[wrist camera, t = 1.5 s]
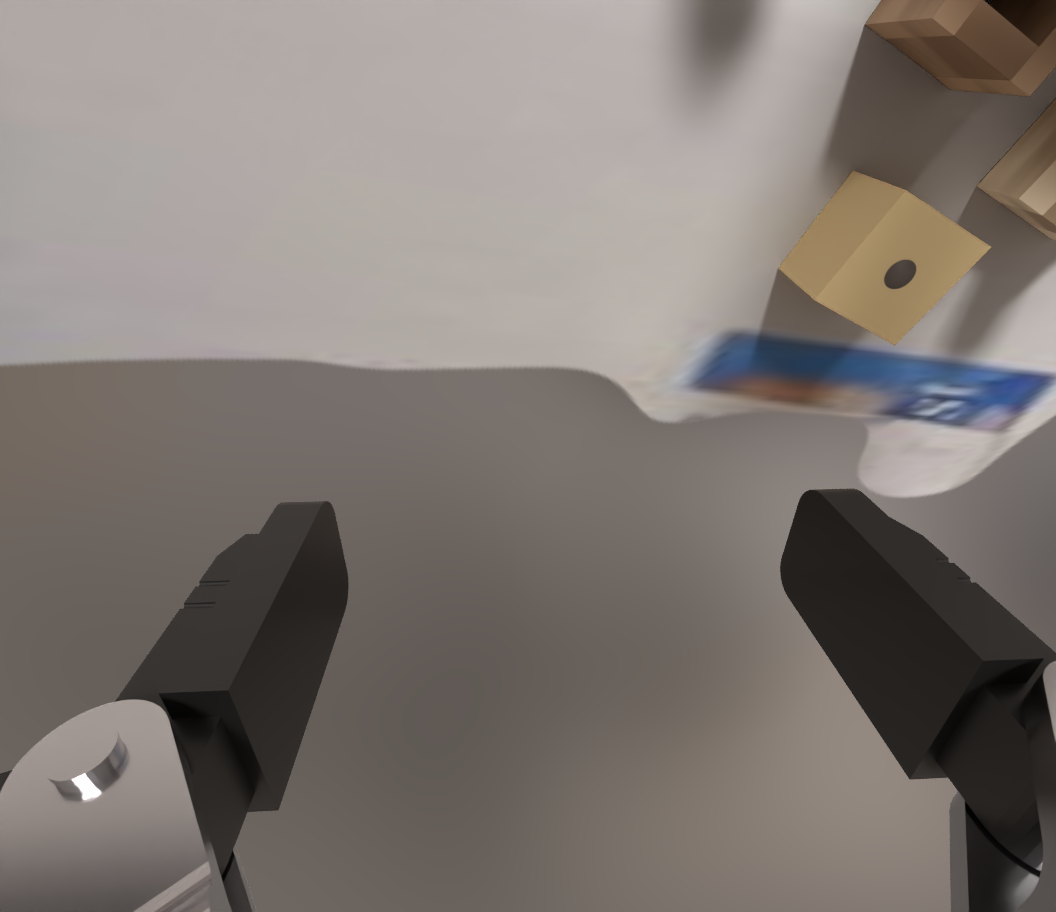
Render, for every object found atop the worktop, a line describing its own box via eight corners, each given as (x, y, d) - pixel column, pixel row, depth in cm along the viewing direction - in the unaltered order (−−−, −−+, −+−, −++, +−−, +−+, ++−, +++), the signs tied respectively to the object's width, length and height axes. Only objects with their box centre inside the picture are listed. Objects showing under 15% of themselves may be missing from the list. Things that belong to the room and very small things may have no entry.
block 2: (851, 170, 27) (906, 190, 23) (927, 220, 29) (991, 247, 25) (777, 267, 30) (814, 300, 26) (849, 308, 32) (894, 345, 28)
